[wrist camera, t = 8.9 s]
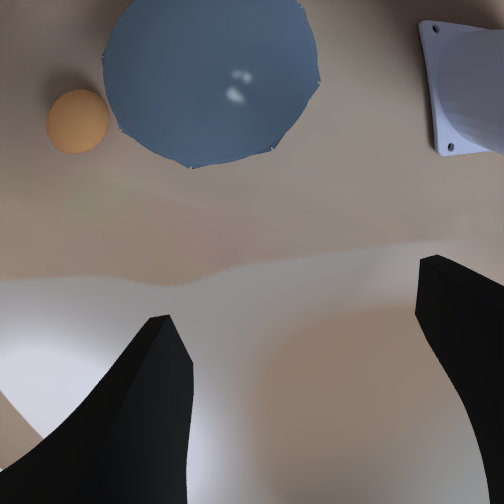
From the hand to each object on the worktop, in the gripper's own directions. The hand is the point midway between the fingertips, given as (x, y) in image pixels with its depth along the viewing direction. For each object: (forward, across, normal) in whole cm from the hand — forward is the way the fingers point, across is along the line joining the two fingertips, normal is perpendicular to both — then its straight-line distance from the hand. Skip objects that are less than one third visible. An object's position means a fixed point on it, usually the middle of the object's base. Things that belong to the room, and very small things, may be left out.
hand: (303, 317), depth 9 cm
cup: (+9, +1, -7) cm, 11 cm away
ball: (+8, +8, -7) cm, 13 cm away
